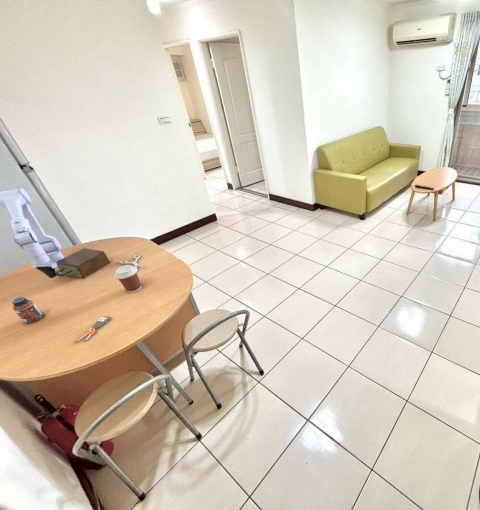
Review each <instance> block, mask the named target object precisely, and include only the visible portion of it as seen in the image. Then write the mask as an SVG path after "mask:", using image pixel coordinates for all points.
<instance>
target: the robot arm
mask: <svg viewBox="0 0 480 510" xmlns="http://www.w3.org/2000/svg"><path fill="white" fill-rule="evenodd" d="M32 204H33V201H32V199H31V198H30V196H29V193H27V191H26V190H25V189H24V188H22V187H20V188H15V189H9V190H4V191H0V205H2V206H3V207H4V208H6V209H7V210H8V213H9V215H10V216H11V220H10V222H9V223H10V225H11V229H12V231H13V235H12V240H13V241H14V243H15V244H16V245H17V246H18V247H19V248H20V249H21V250H23V251H24V252H25V254H26V256H28V257H29V259H30V260H29V262H30V263H31V265H32V268H34V269H36V270H38V271H40V272H41V273H43V274H45V275H46V277H48V278H50V279H54V278H56V277H57V276H56V272H58V271H60V270H59V269H58V267H57V261H59V260H61V259H63V258H65V256H64V254H63V253H62V252H61V250H62V245H61V244H60V242H59V240H57V238H56V237H55V236H53V235H50V234H49V235H48V234H46V233H45V231H44V229H43V228H42V226H41V225H40V223H39V221H38V219H37V218H36V216H35V214H34V213H33V211H32V209H31V207H30V205H32Z"/></svg>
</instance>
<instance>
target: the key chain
mask: <svg viewBox="0 0 480 510" xmlns="http://www.w3.org/2000/svg"><path fill="white" fill-rule="evenodd" d="M109 320H110V317H109V316H105V315H104V316H102V317H100V318H99V319H98V320H97V321H96V322H95V323H94V324H93V325H92V327H90V328H89V329H88V330H87V331H86V332H87V333H85V334H84V335H83V336H81V337H80V338H78V339H77V340H76V342H79V341H80V340H82V339H83V338H85V337H86V338H85V339H84V340H85V341H87V340H89V338H91V336H92V335H94V334H95V333H96V330H97V329H100V328H101V327H102V326H103V325H105V323H107V322H108V321H109ZM87 335H88V336H87Z"/></svg>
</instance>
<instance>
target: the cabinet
mask: <svg viewBox="0 0 480 510" xmlns="http://www.w3.org/2000/svg"><path fill="white" fill-rule="evenodd" d="M57 264H64V265H69V266H74V267H77V268H78V269H79V271H80V273H81V274H82V276H83V277H82V278H84V279H86V278H88V277H89V276H90V275H92V274H94V273H96V272H97V271H99V270H101V269H102V268H104V267H106V266H107V265H109V264H111V261H110V259H109V258H108V256H107V254H106V252H105V251H104V250H100V249H99V250H98V249H93V248H86V247H83V248H81V249H79V250H77V251H76V252H75V251H74V252H72V253H71V254H69V255H67V256H64V258H63V259H61V260H59V261H57Z"/></svg>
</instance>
